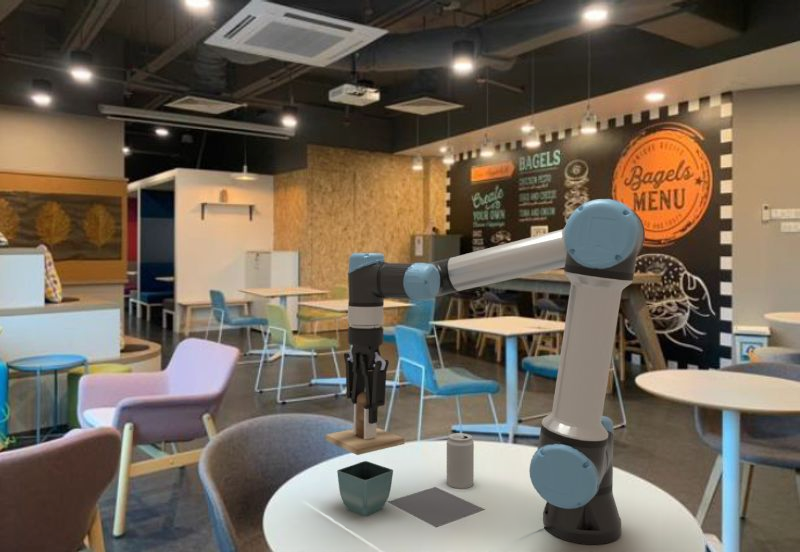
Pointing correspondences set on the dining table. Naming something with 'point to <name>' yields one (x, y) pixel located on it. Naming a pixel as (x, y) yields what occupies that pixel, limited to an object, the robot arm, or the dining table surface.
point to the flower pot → (365, 487)
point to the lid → (358, 442)
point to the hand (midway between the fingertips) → (364, 435)
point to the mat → (436, 506)
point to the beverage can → (460, 461)
